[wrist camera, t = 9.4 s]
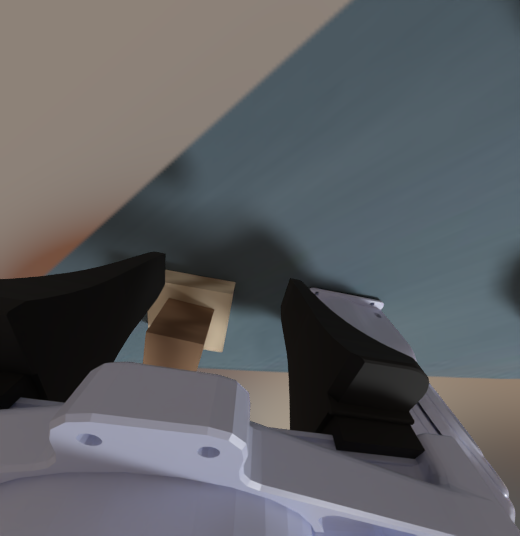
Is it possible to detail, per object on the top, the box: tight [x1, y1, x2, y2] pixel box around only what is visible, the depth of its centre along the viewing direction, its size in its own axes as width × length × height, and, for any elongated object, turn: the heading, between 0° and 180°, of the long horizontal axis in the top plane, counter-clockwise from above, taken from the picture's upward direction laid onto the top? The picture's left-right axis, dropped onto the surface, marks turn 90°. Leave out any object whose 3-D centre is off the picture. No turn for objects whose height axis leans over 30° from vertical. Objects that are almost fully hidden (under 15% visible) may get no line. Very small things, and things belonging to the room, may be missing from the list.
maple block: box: [148, 270, 235, 352], centre depth 25 cm, size 9×9×3 cm
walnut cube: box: [143, 298, 214, 371], centre depth 21 cm, size 5×5×5 cm
